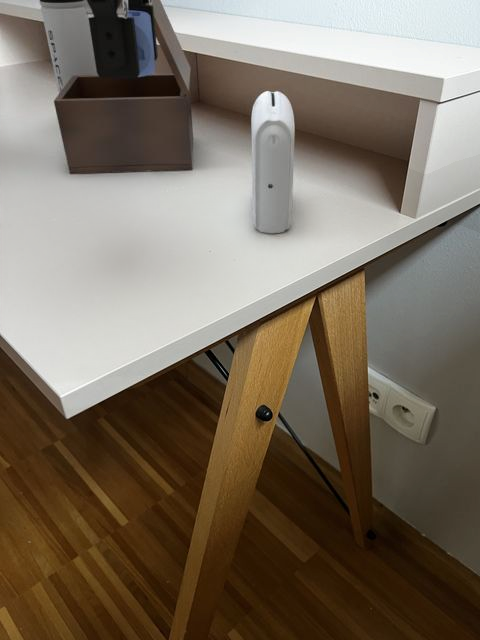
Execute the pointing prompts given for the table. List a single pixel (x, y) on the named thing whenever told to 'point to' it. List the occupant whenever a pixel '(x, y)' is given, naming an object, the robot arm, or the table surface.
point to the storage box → (125, 124)
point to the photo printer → (272, 162)
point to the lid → (171, 47)
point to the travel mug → (68, 39)
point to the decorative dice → (144, 42)
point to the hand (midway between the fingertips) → (129, 66)
